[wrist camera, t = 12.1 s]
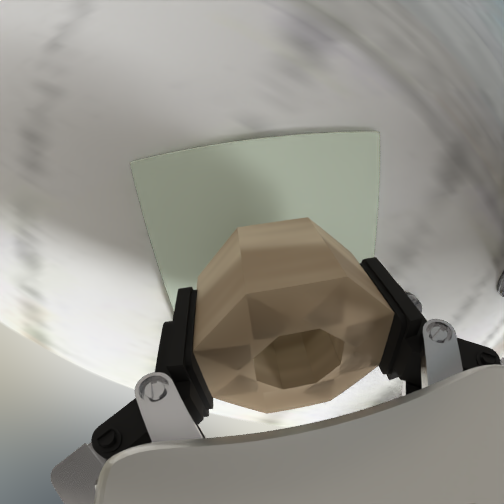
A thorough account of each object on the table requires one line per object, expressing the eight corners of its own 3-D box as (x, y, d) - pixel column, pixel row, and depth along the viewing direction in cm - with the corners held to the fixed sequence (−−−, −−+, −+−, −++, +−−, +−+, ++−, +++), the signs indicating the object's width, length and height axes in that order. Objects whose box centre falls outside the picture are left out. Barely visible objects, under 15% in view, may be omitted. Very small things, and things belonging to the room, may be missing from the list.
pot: (353, 211, 11) (406, 264, 7) (343, 328, 14) (371, 389, 11) (187, 235, 11) (173, 303, 7) (218, 350, 14) (221, 419, 10)
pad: (376, 131, 13) (379, 132, 12) (362, 313, 19) (364, 317, 18) (132, 161, 12) (129, 163, 12) (188, 342, 18) (187, 346, 18)
